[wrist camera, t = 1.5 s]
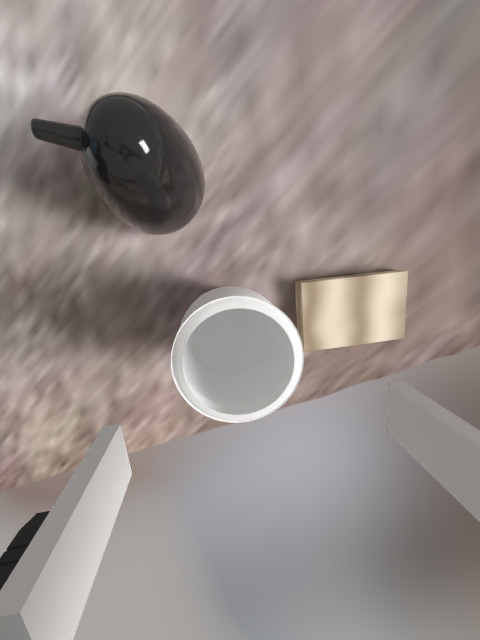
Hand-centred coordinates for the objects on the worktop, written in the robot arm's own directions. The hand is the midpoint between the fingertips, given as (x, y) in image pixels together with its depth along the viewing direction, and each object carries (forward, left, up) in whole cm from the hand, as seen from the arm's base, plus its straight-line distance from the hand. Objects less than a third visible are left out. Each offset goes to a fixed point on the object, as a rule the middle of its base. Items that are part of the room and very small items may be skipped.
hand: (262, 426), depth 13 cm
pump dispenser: (-6, +16, -23) cm, 29 cm away
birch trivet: (+16, 0, -23) cm, 28 cm away
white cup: (0, 0, -23) cm, 23 cm away
